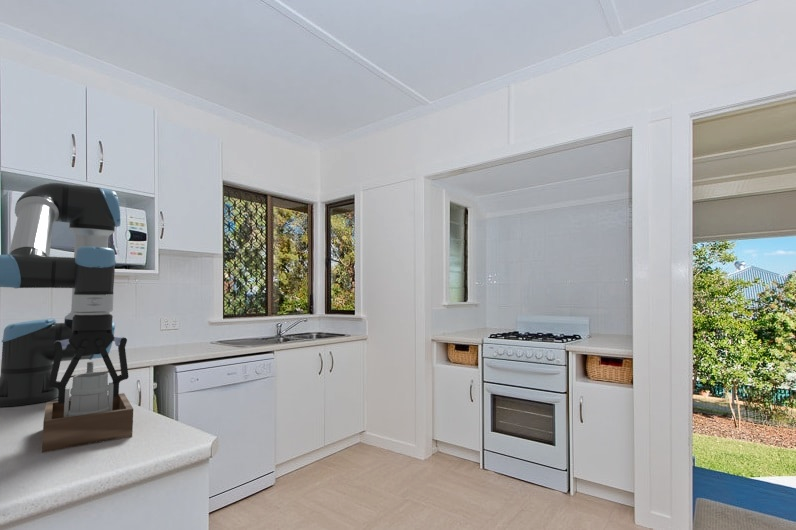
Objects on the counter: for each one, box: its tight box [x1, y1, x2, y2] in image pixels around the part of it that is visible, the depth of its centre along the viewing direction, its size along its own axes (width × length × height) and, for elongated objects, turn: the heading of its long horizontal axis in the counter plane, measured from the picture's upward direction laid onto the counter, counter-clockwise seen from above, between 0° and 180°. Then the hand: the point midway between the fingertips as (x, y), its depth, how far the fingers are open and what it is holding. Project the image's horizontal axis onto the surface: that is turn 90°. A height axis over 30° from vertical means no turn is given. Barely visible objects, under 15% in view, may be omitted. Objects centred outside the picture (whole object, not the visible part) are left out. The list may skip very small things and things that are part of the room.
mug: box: [67, 360, 110, 417], centre depth 97 cm, size 8×12×12 cm, turn 38°
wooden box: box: [41, 392, 134, 453], centre depth 97 cm, size 18×15×6 cm
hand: (88, 414), depth 97 cm, fingers closed on mug, 7 cm apart
